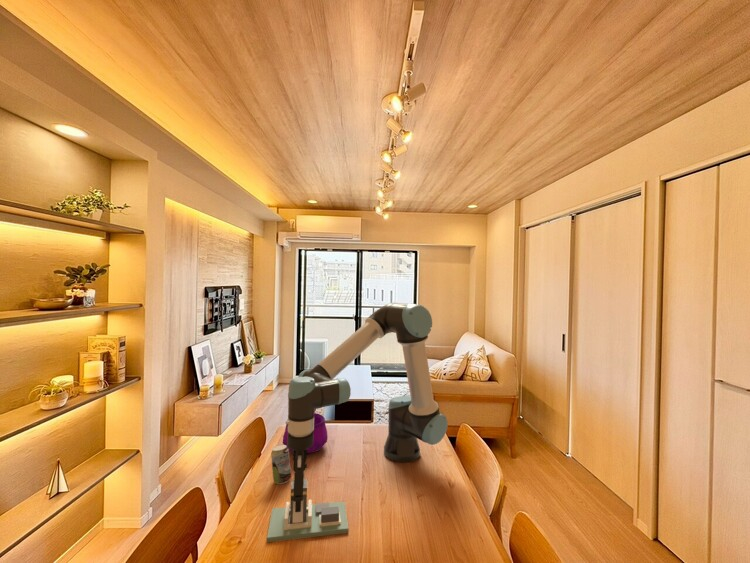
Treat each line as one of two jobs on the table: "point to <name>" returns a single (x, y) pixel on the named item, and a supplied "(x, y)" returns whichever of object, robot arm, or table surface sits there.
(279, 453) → the beverage can
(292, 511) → the plug
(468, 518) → the table surface
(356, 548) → the table surface
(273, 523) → the board
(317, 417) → the decorative plant
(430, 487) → the table surface
